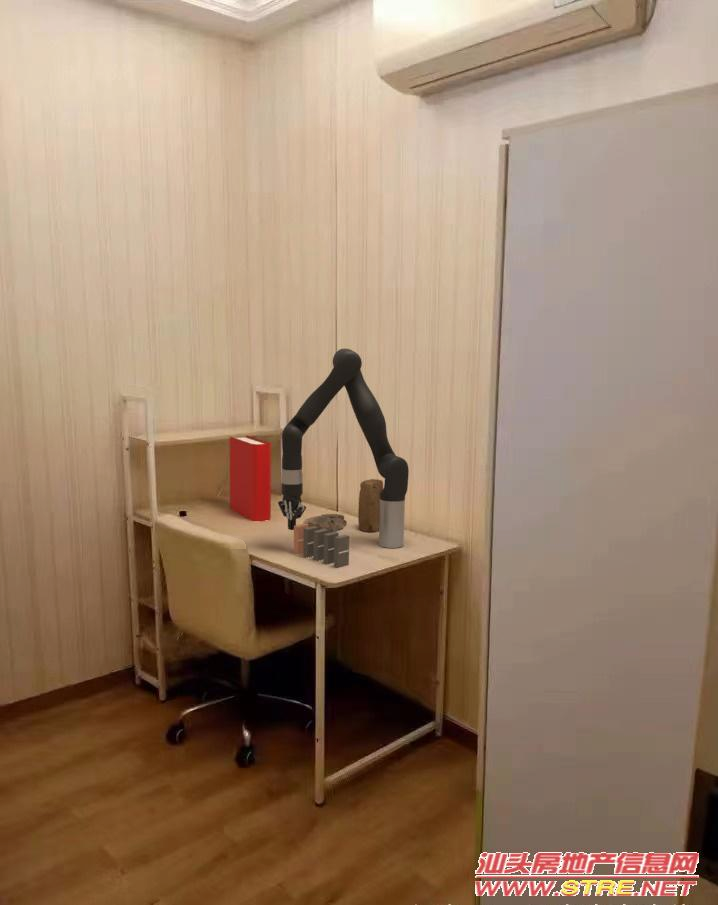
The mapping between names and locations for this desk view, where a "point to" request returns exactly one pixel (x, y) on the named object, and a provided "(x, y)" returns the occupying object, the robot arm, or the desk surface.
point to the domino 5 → (341, 551)
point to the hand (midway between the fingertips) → (291, 529)
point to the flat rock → (327, 522)
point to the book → (250, 477)
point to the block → (369, 505)
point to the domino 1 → (299, 538)
